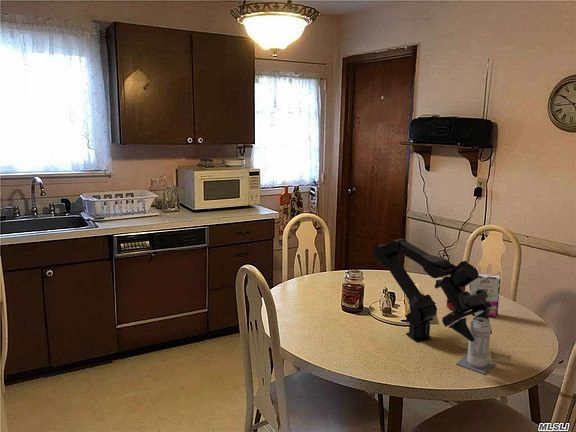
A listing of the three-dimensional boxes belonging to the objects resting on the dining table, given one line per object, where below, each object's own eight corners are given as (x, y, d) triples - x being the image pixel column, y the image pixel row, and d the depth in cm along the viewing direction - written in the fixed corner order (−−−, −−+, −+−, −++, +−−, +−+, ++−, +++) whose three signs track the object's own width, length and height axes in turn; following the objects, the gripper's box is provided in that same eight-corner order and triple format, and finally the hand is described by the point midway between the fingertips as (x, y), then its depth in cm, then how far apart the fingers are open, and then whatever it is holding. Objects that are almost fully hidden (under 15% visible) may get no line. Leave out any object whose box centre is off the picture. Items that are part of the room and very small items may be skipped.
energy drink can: (488, 362, 153) (492, 318, 150) (485, 370, 148) (490, 325, 145) (468, 357, 156) (472, 314, 153) (465, 365, 150) (469, 321, 147)
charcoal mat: (484, 374, 146) (484, 373, 146) (456, 364, 152) (456, 363, 152) (495, 364, 153) (495, 362, 152) (467, 354, 159) (467, 353, 158)
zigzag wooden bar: (458, 349, 162) (459, 341, 161) (463, 346, 165) (463, 337, 164) (508, 366, 151) (509, 357, 151) (512, 362, 154) (513, 353, 153)
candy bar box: (497, 313, 193) (500, 274, 189) (497, 318, 188) (501, 278, 185) (467, 309, 197) (470, 271, 193) (467, 313, 192) (470, 274, 189)
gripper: (453, 287, 145) (482, 334, 138) (489, 276, 155) (517, 320, 149) (430, 303, 153) (456, 349, 146) (466, 292, 163) (492, 334, 157)
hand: (482, 337), depth 149 cm, fingers open, 9 cm apart
